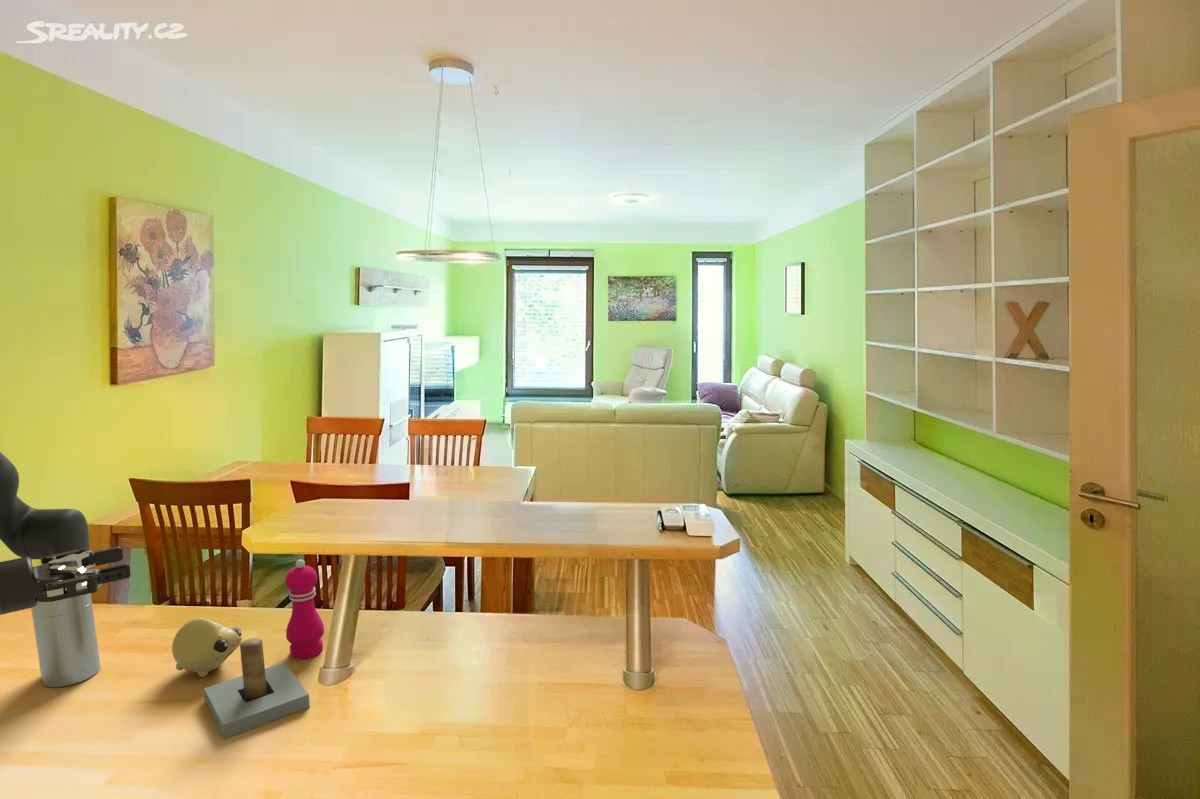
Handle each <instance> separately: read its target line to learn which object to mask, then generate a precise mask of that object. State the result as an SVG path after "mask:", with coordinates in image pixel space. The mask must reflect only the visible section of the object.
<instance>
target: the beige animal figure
mask: <svg viewBox="0 0 1200 799" xmlns="http://www.w3.org/2000/svg"><path fill="white" fill-rule="evenodd" d="M242 638H243V637H242V630H241V629H240V628H239V627H236V626H235V627H227V626H225V625H223V624H220V623H218V622H216V621H213V620H211V619H210V620H209V619H207V618H201V617H194V618H192V619H190V620H188V621H186V622H185V623H184V624H183V625H182V626H181V627H180V628H179V629H178V631H177V633H176V634H175V636H174V638H173V641H172V646H171V650H172V651H171V652H172V656H173V659H174V661H175V663H176V665H175V669H176V670H177V671H182V670H186V671H189V672H194V673H197V674H198V676H199V677H200V678H206V677H207V676H208V673H209V672H210V671H213V670H216V669H217V668H219V667H220V666H221V665H223V663H225V661H226V660H228V657H230V655H232V654H233V653H234V651H236V650H237V649H238V647H239V648H240V644H241V643H242V642H243V641H242Z"/></svg>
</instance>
